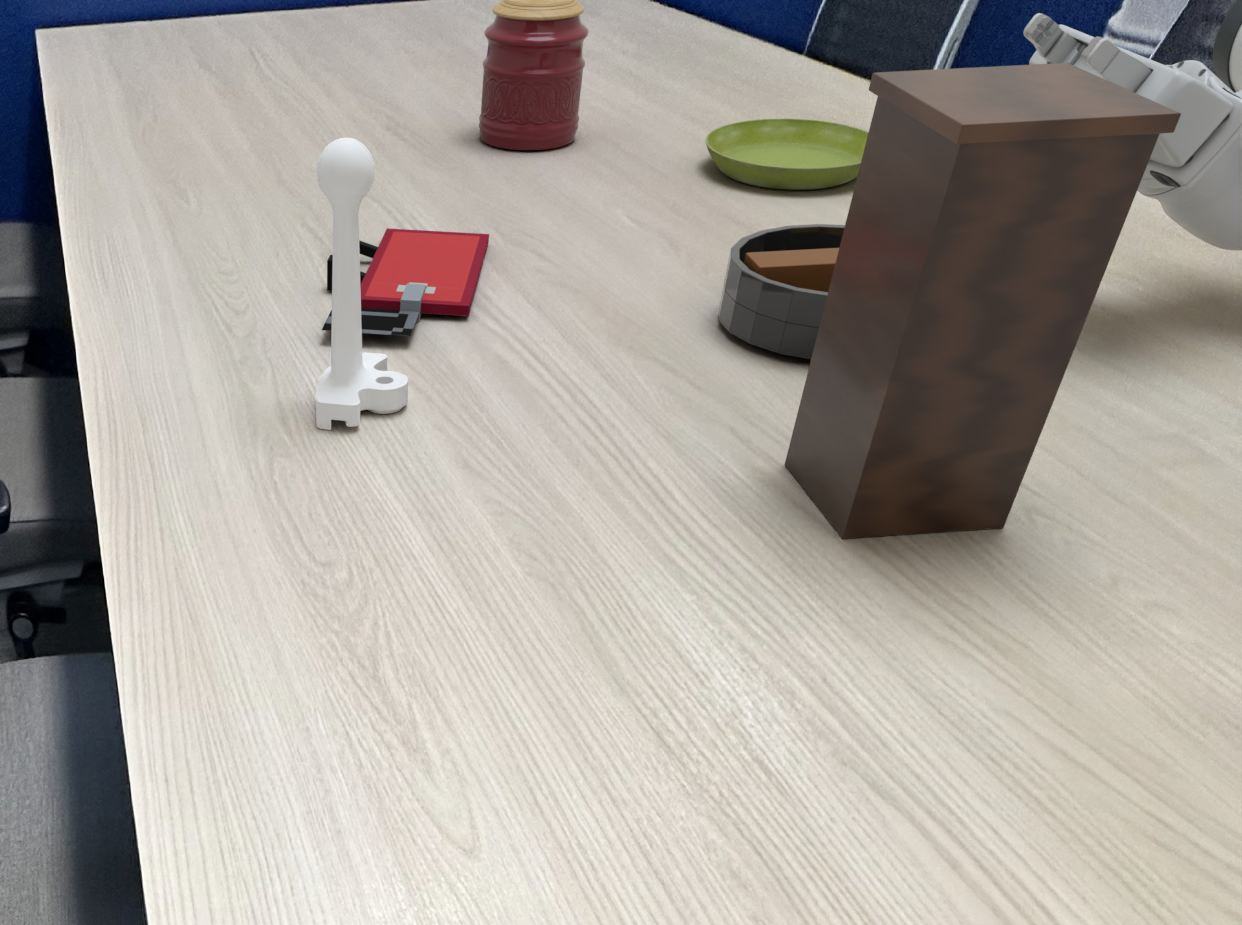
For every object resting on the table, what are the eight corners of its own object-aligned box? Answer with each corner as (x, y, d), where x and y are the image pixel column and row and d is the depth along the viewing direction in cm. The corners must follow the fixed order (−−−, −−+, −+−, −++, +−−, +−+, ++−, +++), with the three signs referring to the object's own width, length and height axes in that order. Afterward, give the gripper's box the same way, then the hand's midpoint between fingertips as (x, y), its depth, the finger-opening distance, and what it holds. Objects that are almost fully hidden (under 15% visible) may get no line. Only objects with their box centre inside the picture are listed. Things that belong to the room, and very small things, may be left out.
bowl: (883, 285, 126) (902, 219, 122) (972, 361, 112) (996, 290, 108) (691, 296, 125) (703, 230, 121) (757, 374, 111) (773, 303, 107)
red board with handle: (301, 339, 119) (460, 349, 117) (301, 307, 117) (462, 318, 115) (352, 240, 140) (488, 248, 138) (353, 212, 138) (490, 219, 136)
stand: (935, 452, 100) (1068, 62, 82) (1013, 531, 91) (1182, 113, 72) (775, 462, 100) (872, 72, 81) (838, 543, 90) (962, 124, 72)
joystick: (338, 375, 114) (336, 118, 99) (420, 382, 112) (429, 122, 98) (304, 427, 106) (296, 157, 92) (392, 435, 105) (397, 162, 90)
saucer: (687, 149, 161) (692, 119, 159) (851, 146, 160) (858, 116, 158) (717, 198, 147) (723, 167, 144) (897, 195, 146) (906, 164, 144)
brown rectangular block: (916, 277, 118) (927, 242, 116) (934, 292, 115) (945, 257, 113) (738, 287, 117) (745, 252, 115) (752, 302, 115) (759, 267, 113)
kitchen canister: (466, 130, 170) (475, -33, 158) (558, 122, 172) (574, -39, 159) (493, 156, 161) (505, -14, 149) (590, 148, 163) (610, -22, 150)
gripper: (1129, 59, 114) (1031, -29, 109) (1270, 116, 100) (1164, 17, 94) (1071, 131, 118) (973, 48, 112) (1199, 195, 103) (1093, 105, 98)
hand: (1061, 35), depth 103 cm, fingers open, 8 cm apart
